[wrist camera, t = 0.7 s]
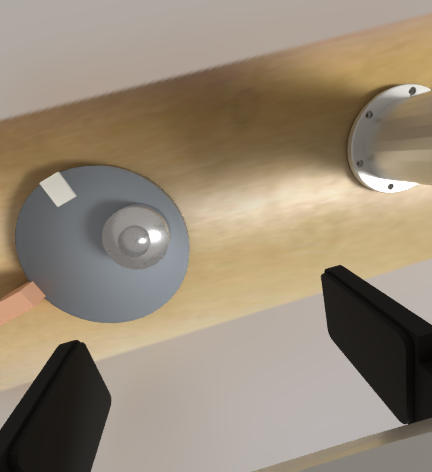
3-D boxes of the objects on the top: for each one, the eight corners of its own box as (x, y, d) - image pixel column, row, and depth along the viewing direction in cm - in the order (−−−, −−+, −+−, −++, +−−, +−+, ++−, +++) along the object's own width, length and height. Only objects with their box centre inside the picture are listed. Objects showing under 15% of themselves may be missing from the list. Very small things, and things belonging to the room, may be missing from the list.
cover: (150, 191, 29) (143, 196, 25) (181, 242, 31) (180, 254, 27) (98, 221, 29) (83, 230, 25) (132, 269, 31) (124, 284, 27)
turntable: (132, 132, 28) (122, 128, 24) (216, 271, 34) (219, 287, 30) (-43, 236, 30) (-81, 248, 26) (66, 351, 36) (49, 376, 32)
